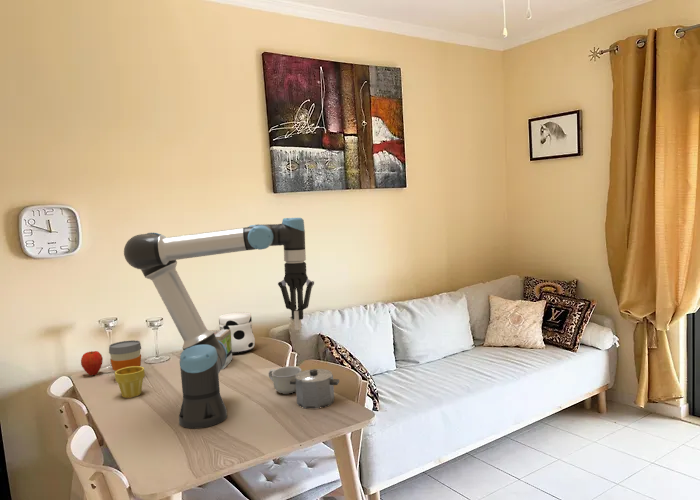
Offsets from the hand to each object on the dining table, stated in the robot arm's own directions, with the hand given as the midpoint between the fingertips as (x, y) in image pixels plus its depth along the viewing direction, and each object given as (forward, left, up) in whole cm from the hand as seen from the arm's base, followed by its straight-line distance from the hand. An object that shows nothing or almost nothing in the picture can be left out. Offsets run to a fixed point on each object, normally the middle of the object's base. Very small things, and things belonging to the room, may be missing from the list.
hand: (298, 328), depth 190 cm
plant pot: (-1, +68, -25) cm, 72 cm away
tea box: (+39, +52, -25) cm, 70 cm away
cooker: (-4, -6, -25) cm, 26 cm away
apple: (+22, +103, -25) cm, 108 cm away
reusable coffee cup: (+18, +83, -25) cm, 89 cm away
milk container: (+62, +53, -25) cm, 85 cm away
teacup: (+7, +9, -25) cm, 28 cm away
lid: (-4, -6, -16) cm, 18 cm away
